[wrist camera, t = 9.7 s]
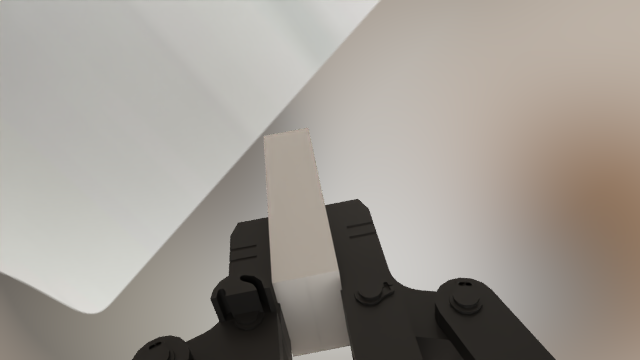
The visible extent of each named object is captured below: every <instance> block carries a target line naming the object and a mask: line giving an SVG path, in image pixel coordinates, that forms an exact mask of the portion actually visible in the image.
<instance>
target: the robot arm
mask: <svg viewBox="0 0 640 360" xmlns="http://www.w3.org/2000/svg"><path fill="white" fill-rule="evenodd" d="M264 151H265V169H266V187H267V202H268V217H267V218H261V219H256V220H251V221H245V222H240V223H238V224H237V226H236V227H235V229H234V231H233V233H232V234H231V237H230V238H231V239H230V264H229V276H228V277H226V278H225V279H223V280H222V281H220V282H219V284H218V285H217V286H216V287H215V288H214V290H213V292H212V296H211V301H212V304H213V306H214V309H215V311H216V314H217V316H218V319H219V322H218V323H217V324H216V325H215V326H214V327H213V328H212V329H210V330H209V331H207V332H205V333H204V334H201V335H199V336H197V337H195V338H193V339H191V340H189V341H187V342H185V341H184V340H182V339H181V338H180V337H175V336H165V337H159V338H157V339H154V340H152V341H150V342H148V343H147V344H146V345H144V346H143V347H142V348H141V349H140V350H138V352H137V353H136V355H135V356H134V358H133V359H132V360H292V354H293V356H299V355H304V354H309V353H314V352H319V351H325V350H330V349H335V348H340V347H345V346H351V351H352V357H353V360H555V358H554V357H553V356H552V355H551V354H550V353H549V352H548V351H547V350H546V349H545V348H544V346H543V345H542V344H541V343H540V342H539V341H538V340H537V339H536V338H535V337H534V336H533V334H532V333H531V332H530V331H529V330H528V329H527V328H526V327H525V326H524V325H523V324H522V322H521V321H520V320H519V319H518V318H517V317H516V316H515V315H514V314H513V313H512V311H510V309H509V308H508V307H507V306H506V305H505V304H504V303H503V302H502V301H501V299H500V298H499V297H498V296H497V295H496V294H495V293H494V292H493V291H492V290H491V289H490V288H489V287H487V286H486V285H485V284H484V283H482V282H479V281H477V280H474V279H470V278H457V279H452V280H449V281H447V282H446V283H444V284H442V285H441V286H440V287H439V289H438V290H437V292H434V291H421V290H415V289H411V288H408V287H405V286H403V285H402V284H400V283H399V282H397V281H396V280H395V279H394V278H393V277H392V275H391V273H390V271H389V269H388V266H387V263H386V260H385V257H384V254H383V251H382V248H381V245H380V242H379V239H378V236H377V234H376V229H375V227H374V224H373V220H372V217H371V215H370V211H369V209H368V208H367V207H366V206H365V205H364V204H363V203H362V202H361V201H360V200H358V199H356V200H350V201H345V202H340V203H334V204H329V205H325V204H324V199H323V194H322V190H321V185H320V180H319V176H318V171H317V166H316V162H315V157H314V152H313V148H312V143H311V138H310V134H309V129H308V128H304V129H298V130H293V131H288V132H283V133H277V134H272V135H266V136H264ZM291 350H292V351H291Z"/></svg>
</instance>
